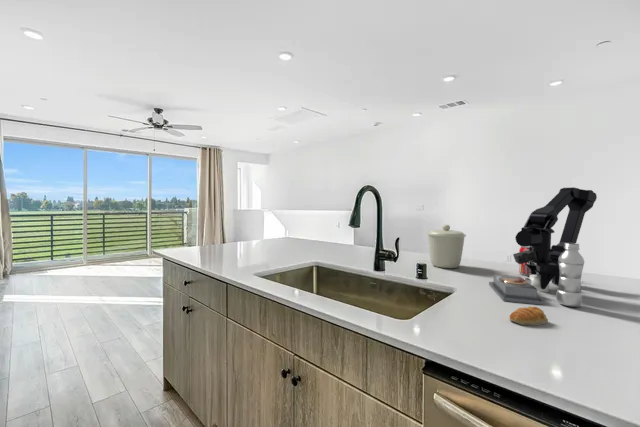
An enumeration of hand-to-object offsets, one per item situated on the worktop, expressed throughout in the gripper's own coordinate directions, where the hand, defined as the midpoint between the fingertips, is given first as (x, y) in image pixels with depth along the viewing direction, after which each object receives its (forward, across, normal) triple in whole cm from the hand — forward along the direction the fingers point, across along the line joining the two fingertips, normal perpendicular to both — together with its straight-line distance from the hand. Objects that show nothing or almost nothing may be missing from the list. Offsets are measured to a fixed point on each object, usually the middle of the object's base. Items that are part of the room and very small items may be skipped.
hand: (539, 286), depth 111 cm
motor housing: (+1, +9, -11) cm, 14 cm away
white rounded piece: (+1, 0, 0) cm, 1 cm away
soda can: (+2, -24, +4) cm, 24 cm away
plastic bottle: (+1, +17, +2) cm, 17 cm away
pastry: (+2, +35, -15) cm, 38 cm away
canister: (+2, -30, -30) cm, 42 cm away
